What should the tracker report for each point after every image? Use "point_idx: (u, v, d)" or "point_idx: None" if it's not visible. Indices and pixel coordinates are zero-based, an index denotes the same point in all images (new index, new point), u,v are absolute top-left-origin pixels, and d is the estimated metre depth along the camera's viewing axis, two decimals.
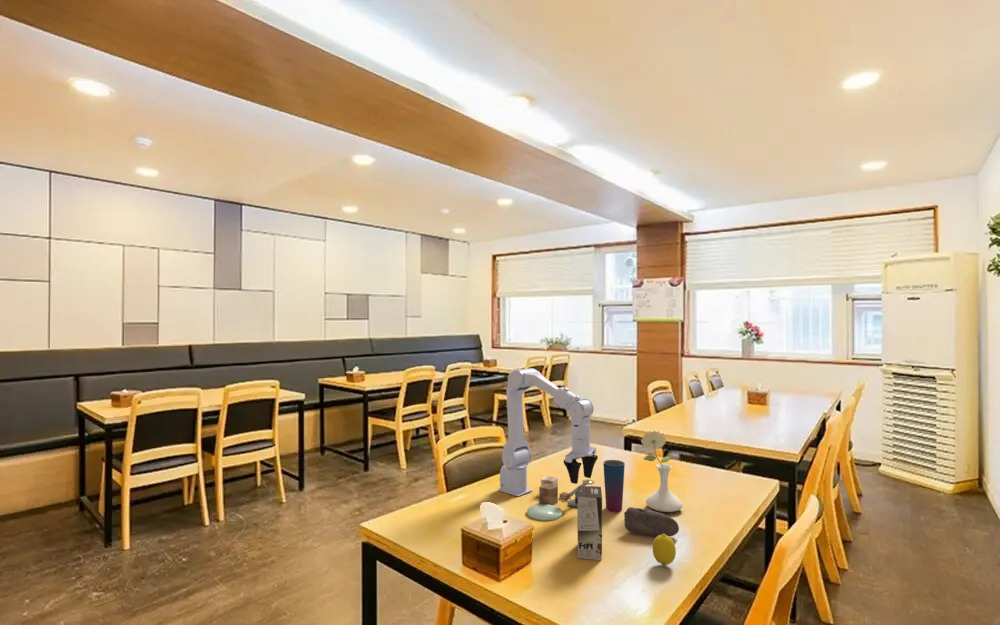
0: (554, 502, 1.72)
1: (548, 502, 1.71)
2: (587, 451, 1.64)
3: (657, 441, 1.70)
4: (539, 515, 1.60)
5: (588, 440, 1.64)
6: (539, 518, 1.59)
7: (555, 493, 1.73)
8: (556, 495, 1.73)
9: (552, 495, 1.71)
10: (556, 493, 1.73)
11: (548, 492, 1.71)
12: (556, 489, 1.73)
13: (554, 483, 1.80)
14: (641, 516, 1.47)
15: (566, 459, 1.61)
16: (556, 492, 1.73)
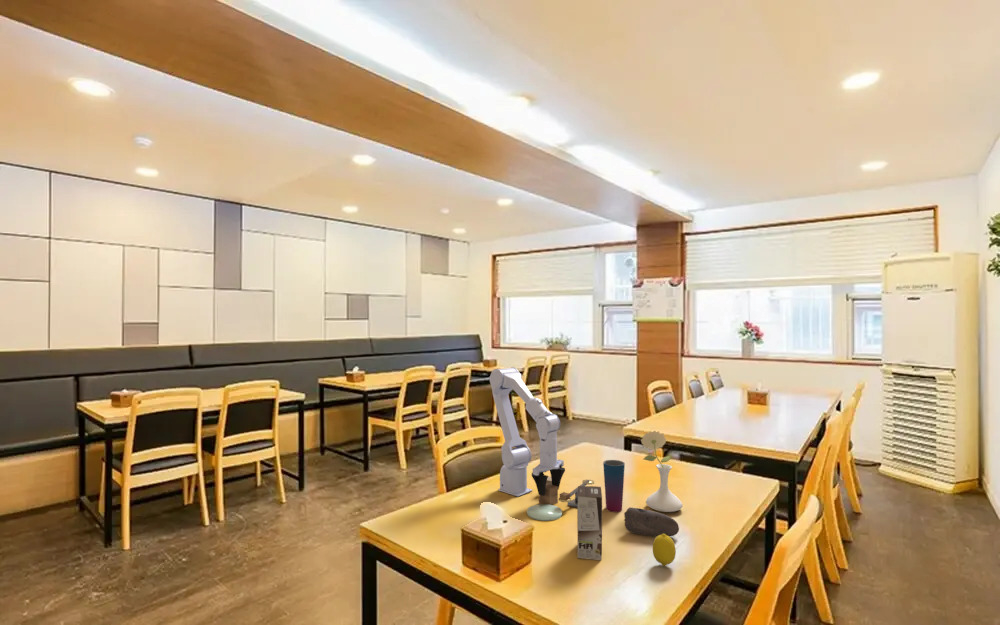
0: (554, 502, 1.72)
1: (548, 502, 1.71)
2: (554, 464, 1.71)
3: (657, 441, 1.70)
4: (539, 515, 1.60)
5: (555, 454, 1.72)
6: (539, 518, 1.59)
7: (555, 493, 1.73)
8: (556, 495, 1.73)
9: (552, 495, 1.71)
10: (556, 493, 1.73)
11: (548, 492, 1.71)
12: (556, 489, 1.73)
13: None
14: (641, 516, 1.47)
15: (533, 472, 1.68)
16: (556, 492, 1.73)
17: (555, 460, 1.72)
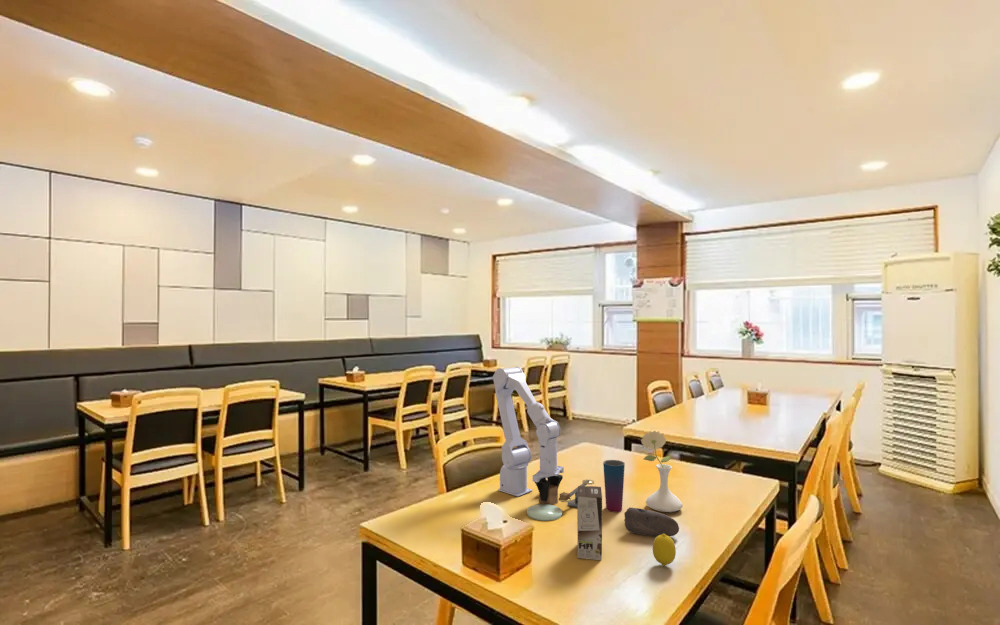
0: (554, 502, 1.72)
1: (548, 502, 1.71)
2: (554, 471, 1.71)
3: (657, 441, 1.70)
4: (539, 515, 1.60)
5: (555, 460, 1.72)
6: (539, 518, 1.59)
7: (555, 493, 1.73)
8: (556, 495, 1.73)
9: (552, 495, 1.71)
10: (556, 493, 1.73)
11: (548, 492, 1.71)
12: (556, 488, 1.73)
13: None
14: (641, 516, 1.47)
15: (533, 479, 1.68)
16: (556, 492, 1.73)
17: (555, 467, 1.72)
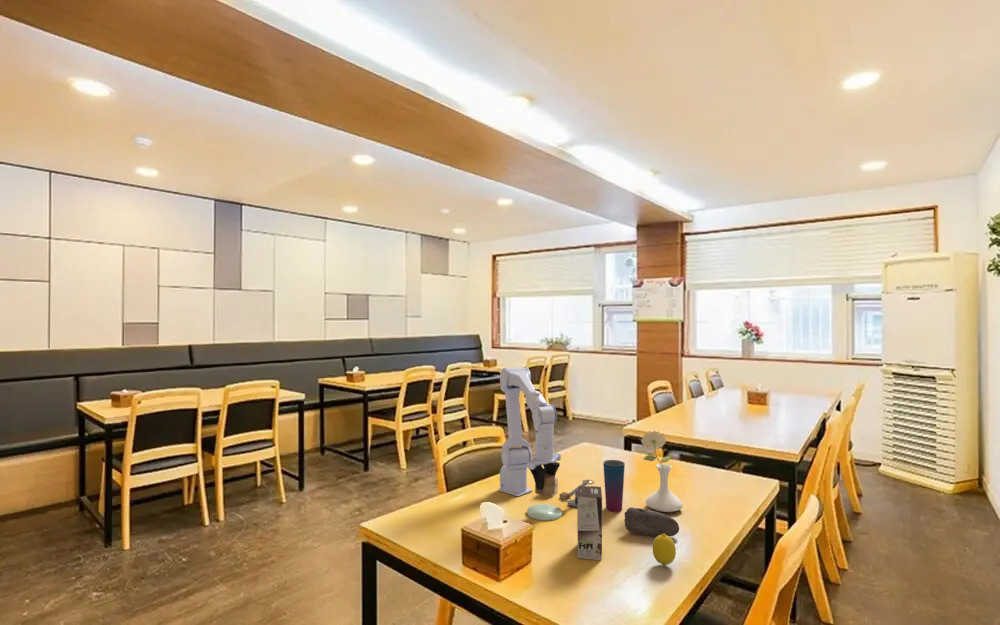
0: (551, 492, 1.62)
1: (544, 492, 1.61)
2: (550, 458, 1.62)
3: (657, 441, 1.70)
4: (539, 515, 1.60)
5: (551, 447, 1.62)
6: (539, 518, 1.59)
7: (552, 483, 1.63)
8: (553, 485, 1.63)
9: (548, 484, 1.62)
10: (553, 483, 1.63)
11: (545, 482, 1.61)
12: (553, 478, 1.63)
13: None
14: (641, 516, 1.47)
15: (528, 466, 1.59)
16: (553, 482, 1.63)
17: (551, 453, 1.62)
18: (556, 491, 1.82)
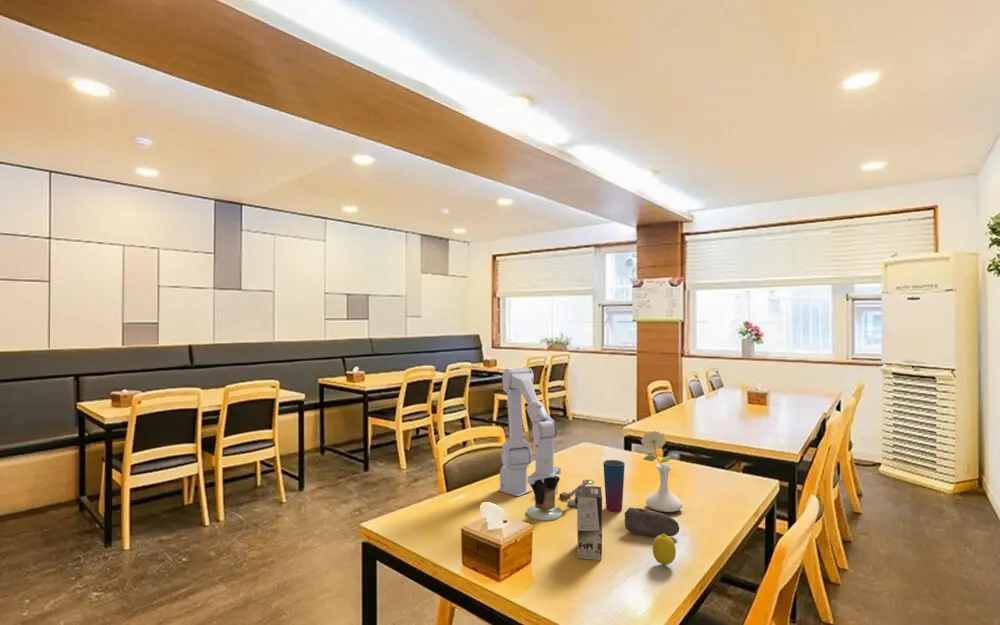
0: (551, 507, 1.62)
1: (544, 507, 1.61)
2: (550, 472, 1.62)
3: (657, 441, 1.70)
4: (539, 515, 1.60)
5: (551, 461, 1.62)
6: (539, 518, 1.59)
7: (552, 497, 1.63)
8: (553, 499, 1.63)
9: (548, 499, 1.61)
10: (553, 497, 1.63)
11: (545, 496, 1.61)
12: (553, 492, 1.63)
13: None
14: (641, 516, 1.47)
15: (528, 481, 1.59)
16: (553, 496, 1.63)
17: (551, 468, 1.62)
18: (556, 491, 1.82)
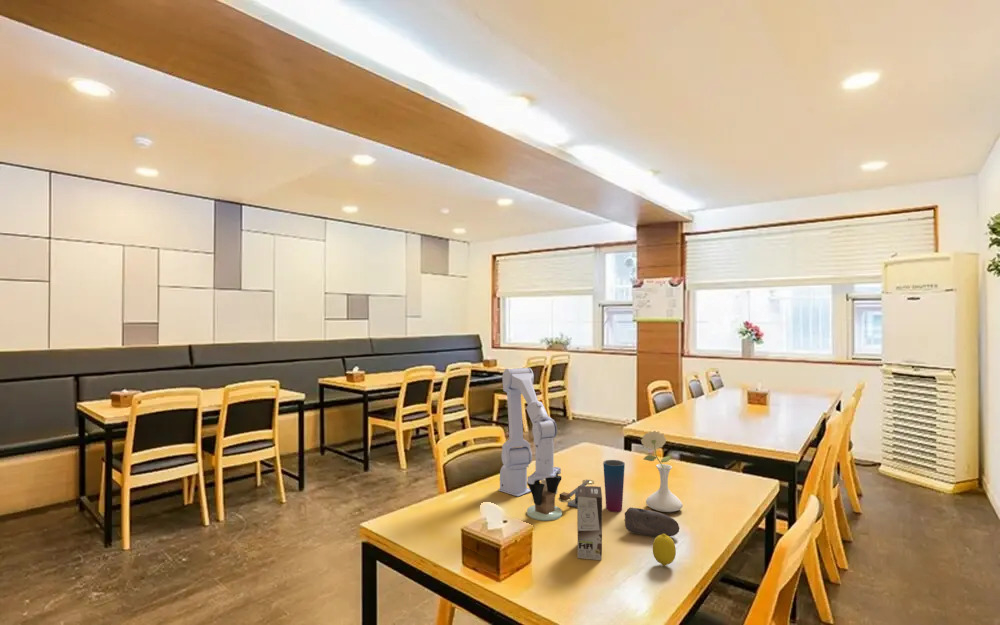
0: (551, 510, 1.62)
1: (544, 510, 1.61)
2: (550, 472, 1.62)
3: (657, 441, 1.70)
4: (539, 515, 1.60)
5: (551, 461, 1.62)
6: (539, 518, 1.59)
7: (552, 500, 1.63)
8: (553, 502, 1.63)
9: (548, 502, 1.61)
10: (553, 500, 1.63)
11: (545, 500, 1.61)
12: (553, 496, 1.63)
13: None
14: (641, 516, 1.47)
15: (528, 481, 1.59)
16: (553, 499, 1.63)
17: (551, 468, 1.62)
18: (556, 491, 1.82)
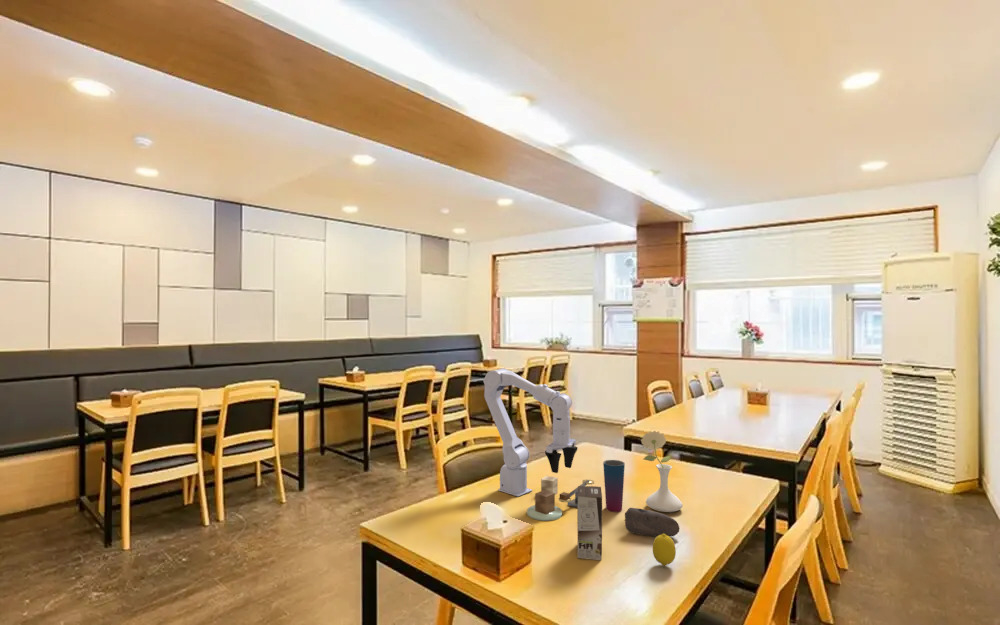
0: (551, 510, 1.62)
1: (544, 510, 1.61)
2: (567, 442, 1.75)
3: (657, 441, 1.70)
4: (539, 515, 1.60)
5: (568, 432, 1.75)
6: (539, 518, 1.59)
7: (552, 500, 1.63)
8: (553, 502, 1.63)
9: (548, 502, 1.61)
10: (553, 500, 1.63)
11: (545, 500, 1.61)
12: (553, 496, 1.63)
13: (554, 483, 1.80)
14: (642, 516, 1.47)
15: (547, 450, 1.72)
16: (553, 499, 1.63)
17: (568, 438, 1.75)
18: (556, 491, 1.82)
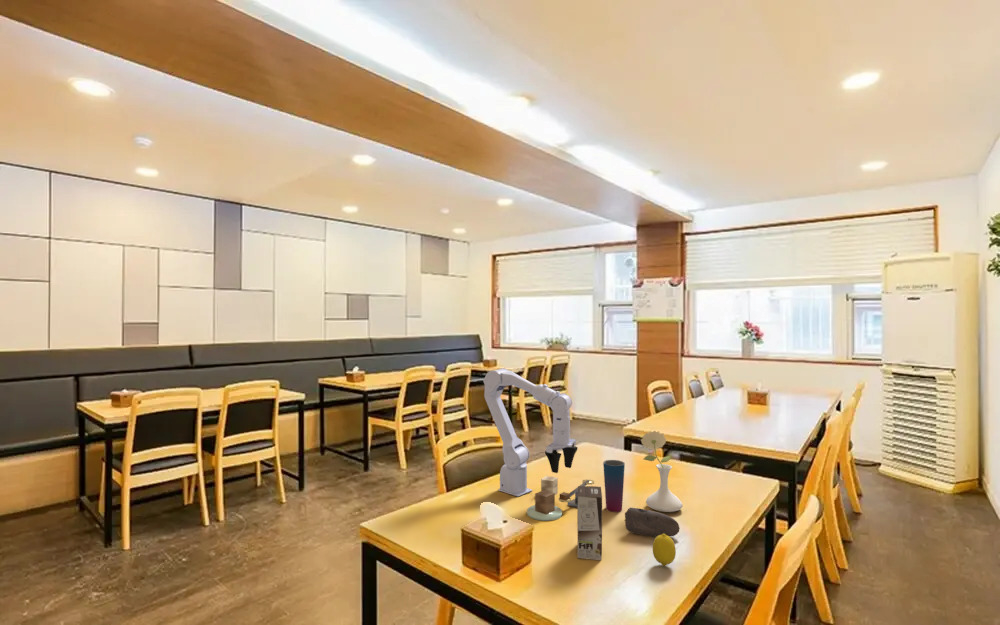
0: (551, 510, 1.62)
1: (544, 510, 1.61)
2: (567, 442, 1.75)
3: (657, 441, 1.70)
4: (539, 515, 1.60)
5: (568, 432, 1.75)
6: (539, 518, 1.59)
7: (552, 500, 1.63)
8: (553, 502, 1.63)
9: (548, 502, 1.61)
10: (553, 500, 1.63)
11: (545, 500, 1.61)
12: (553, 496, 1.63)
13: (554, 483, 1.80)
14: (642, 516, 1.47)
15: (547, 450, 1.72)
16: (553, 499, 1.63)
17: (568, 438, 1.75)
18: (556, 491, 1.82)
